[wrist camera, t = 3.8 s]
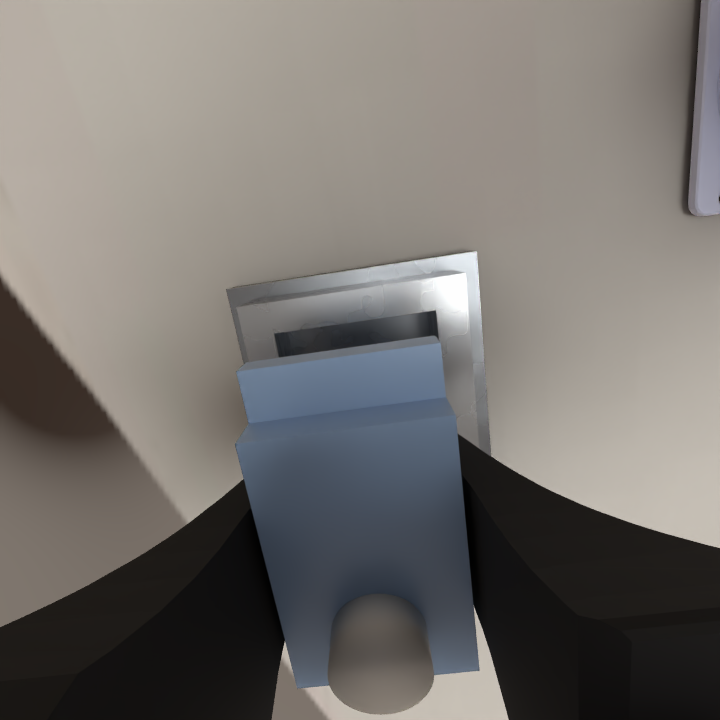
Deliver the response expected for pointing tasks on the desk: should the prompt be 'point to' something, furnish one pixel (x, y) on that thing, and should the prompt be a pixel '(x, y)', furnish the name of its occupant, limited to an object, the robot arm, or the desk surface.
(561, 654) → the robot arm
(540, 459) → the desk surface
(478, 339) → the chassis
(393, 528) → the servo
